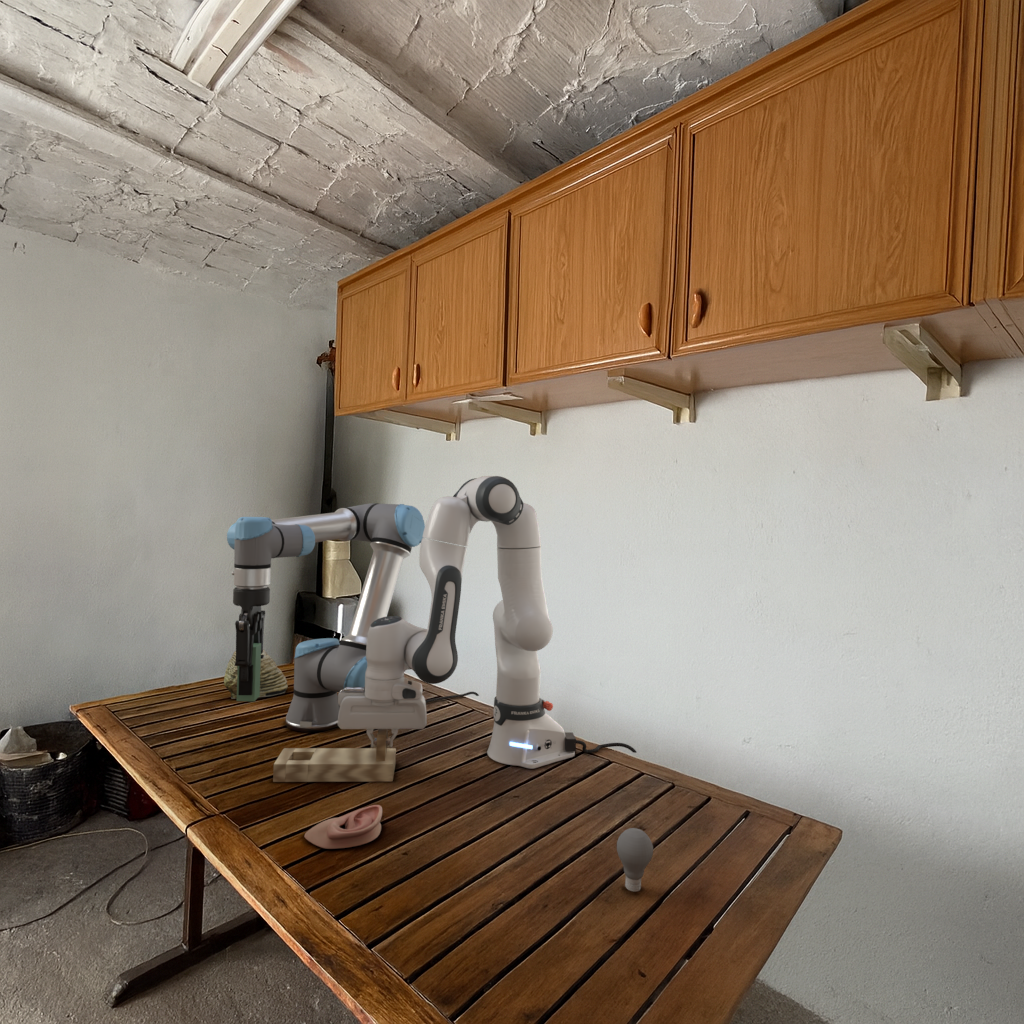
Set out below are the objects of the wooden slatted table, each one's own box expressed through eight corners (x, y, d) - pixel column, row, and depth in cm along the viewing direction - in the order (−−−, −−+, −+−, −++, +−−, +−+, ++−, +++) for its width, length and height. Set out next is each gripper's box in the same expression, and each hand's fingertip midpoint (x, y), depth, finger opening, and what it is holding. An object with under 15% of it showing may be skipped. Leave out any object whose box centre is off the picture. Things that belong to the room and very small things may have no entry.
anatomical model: (296, 822, 115) (327, 794, 126) (295, 844, 115) (326, 814, 126) (364, 833, 112) (389, 803, 124) (363, 855, 112) (388, 823, 124)
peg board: (272, 782, 140) (274, 737, 139) (283, 764, 148) (284, 722, 148) (392, 781, 142) (394, 737, 142) (395, 764, 151) (397, 723, 151)
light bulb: (610, 878, 109) (613, 821, 108) (645, 878, 109) (647, 821, 109) (619, 901, 103) (622, 840, 103) (655, 900, 103) (658, 839, 103)
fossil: (219, 695, 195) (221, 647, 195) (279, 686, 207) (281, 640, 207) (229, 703, 188) (231, 653, 188) (290, 693, 201) (292, 646, 200)
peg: (242, 695, 142) (243, 642, 142) (259, 695, 143) (261, 643, 142) (236, 701, 139) (238, 646, 138) (254, 701, 139) (256, 647, 139)
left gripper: (246, 580, 148) (243, 680, 149) (220, 592, 131) (217, 703, 132) (279, 581, 149) (276, 680, 149) (257, 593, 132) (254, 704, 133)
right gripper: (335, 691, 142) (333, 752, 142) (427, 691, 144) (425, 752, 144) (340, 683, 148) (338, 741, 148) (428, 683, 150) (426, 741, 151)
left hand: (248, 691), depth 141 cm, fingers closed on peg, 4 cm apart
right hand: (382, 746), depth 146 cm, fingers closed on peg board, 2 cm apart
